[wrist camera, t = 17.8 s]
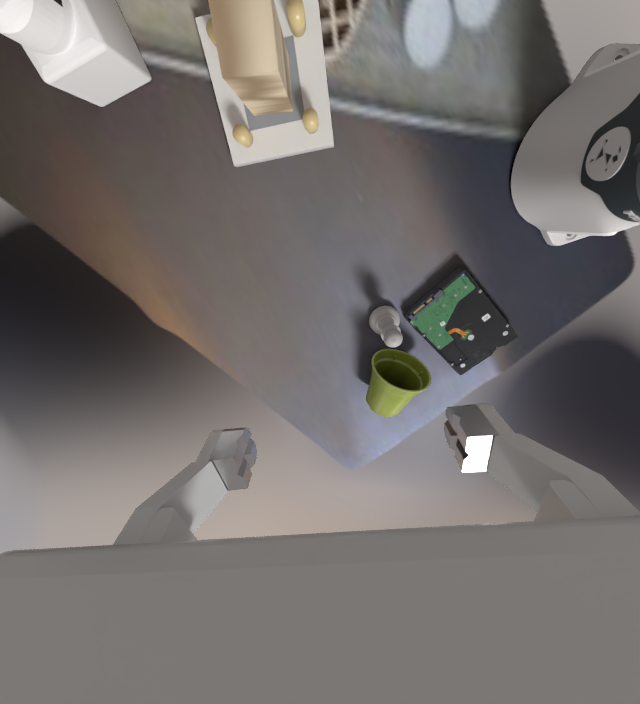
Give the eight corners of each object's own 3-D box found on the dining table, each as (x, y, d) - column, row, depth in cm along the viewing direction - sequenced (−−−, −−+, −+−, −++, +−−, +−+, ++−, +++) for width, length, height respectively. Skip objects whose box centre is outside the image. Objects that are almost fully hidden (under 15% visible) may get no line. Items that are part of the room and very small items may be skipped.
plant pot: (364, 375, 50) (378, 341, 45) (411, 395, 49) (433, 362, 43) (349, 410, 44) (365, 374, 38) (404, 435, 42) (429, 401, 36)
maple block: (288, 54, 27) (268, -19, 18) (293, 111, 29) (278, 70, 20) (245, 59, 27) (206, -11, 18) (253, 115, 29) (222, 77, 20)
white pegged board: (316, -7, 25) (315, -38, 22) (333, 147, 31) (334, 140, 28) (200, 25, 27) (182, 0, 23) (237, 167, 32) (227, 162, 29)
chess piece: (376, 337, 43) (385, 363, 36) (363, 314, 41) (371, 336, 34) (403, 324, 42) (418, 348, 35) (391, 299, 40) (405, 319, 33)
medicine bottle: (53, 21, 27) (-123, -96, 16) (109, -15, 26) (-43, -168, 15) (102, 109, 30) (-19, 57, 20) (154, 80, 29) (54, 9, 18)
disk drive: (509, 328, 43) (457, 264, 38) (520, 336, 40) (466, 268, 35) (454, 367, 46) (400, 314, 42) (461, 376, 44) (404, 321, 39)
